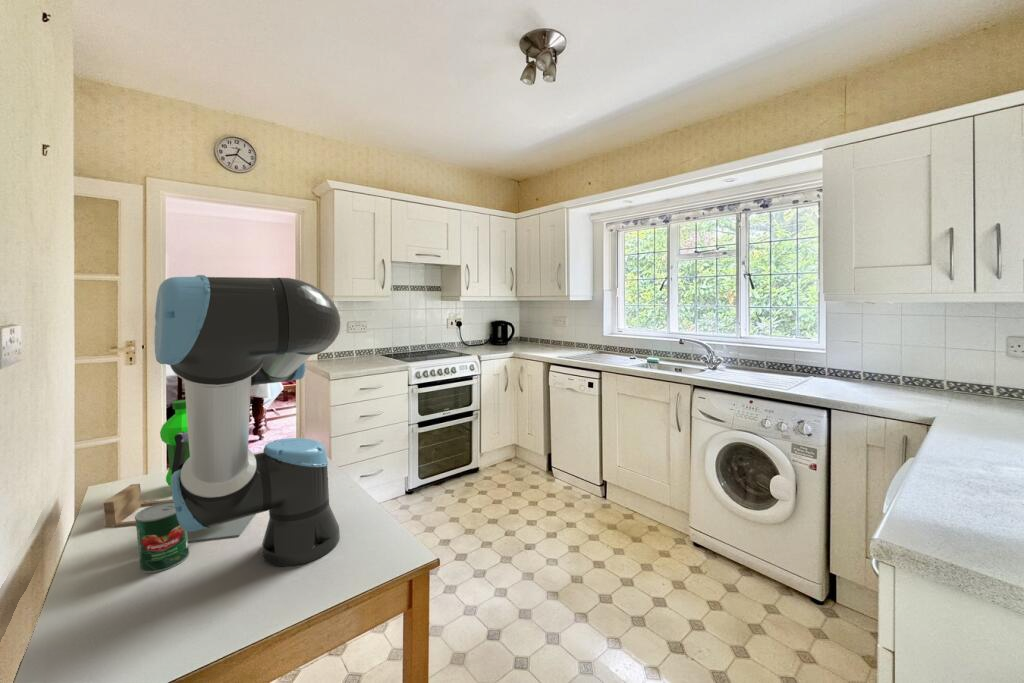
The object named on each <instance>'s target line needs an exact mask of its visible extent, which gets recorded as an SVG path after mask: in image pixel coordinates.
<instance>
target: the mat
mask: <svg viewBox="0 0 1024 683" xmlns="http://www.w3.org/2000/svg"><path fill="white" fill-rule="evenodd" d="M255 516H256V514H254V515H251V516H247V517H244V518H240V519H237V520H234V521H230V522H227V523H223V524H220V525H217V526H213V527H211V528H208V529H201V530H196V531H192V532H188V531H187V534H188V535H187V537H188V543H194V542H203V541H211V540H222V539H229V538H239V537H240V536H241V535H242V534H243V532H244V531H245V529H246V528H247V527H248V525H249V524H250V523H251V521H253V518H254V517H255Z"/></svg>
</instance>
